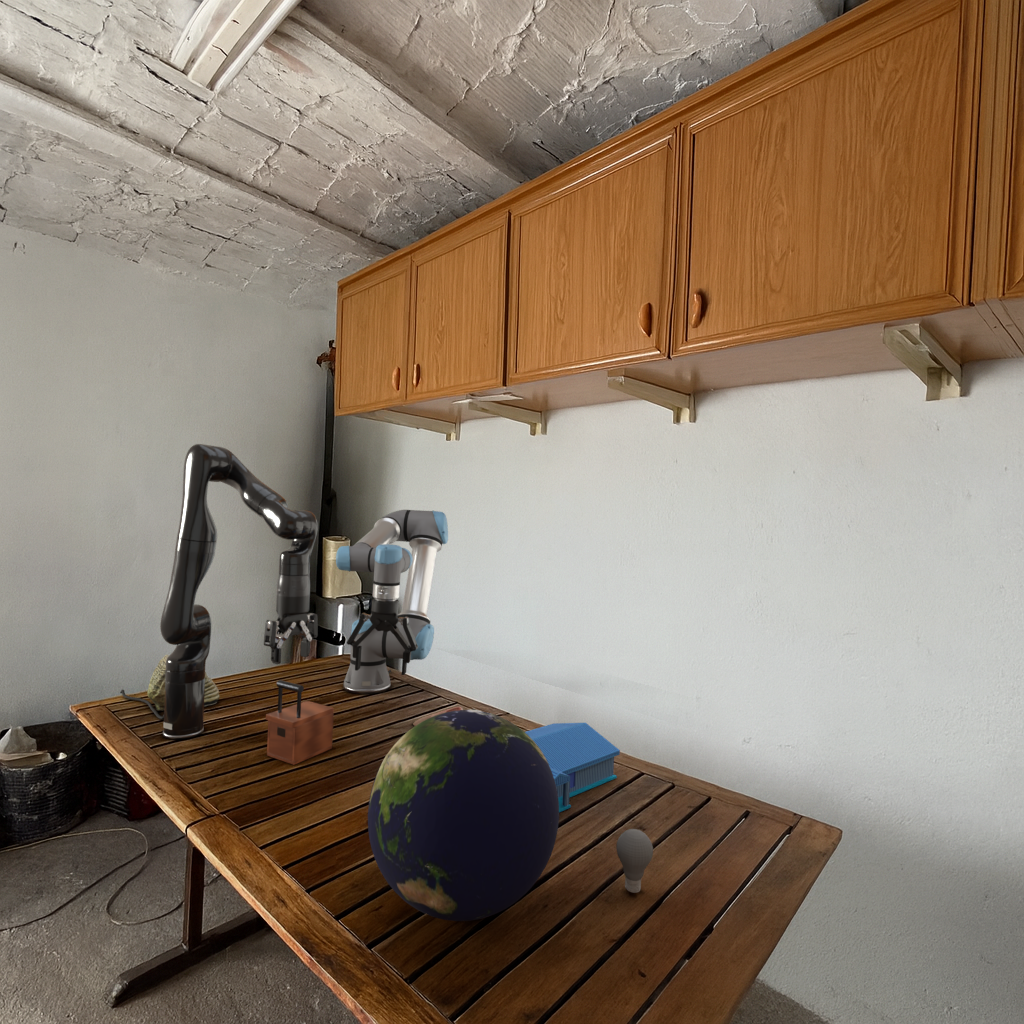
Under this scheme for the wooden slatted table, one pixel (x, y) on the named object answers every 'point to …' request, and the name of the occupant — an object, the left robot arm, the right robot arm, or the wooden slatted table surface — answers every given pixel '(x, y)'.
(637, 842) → the light bulb
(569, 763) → the model building
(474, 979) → the wooden slatted table surface
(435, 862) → the globe
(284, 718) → the lid
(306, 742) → the chest
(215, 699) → the fossil
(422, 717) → the anatomical model
